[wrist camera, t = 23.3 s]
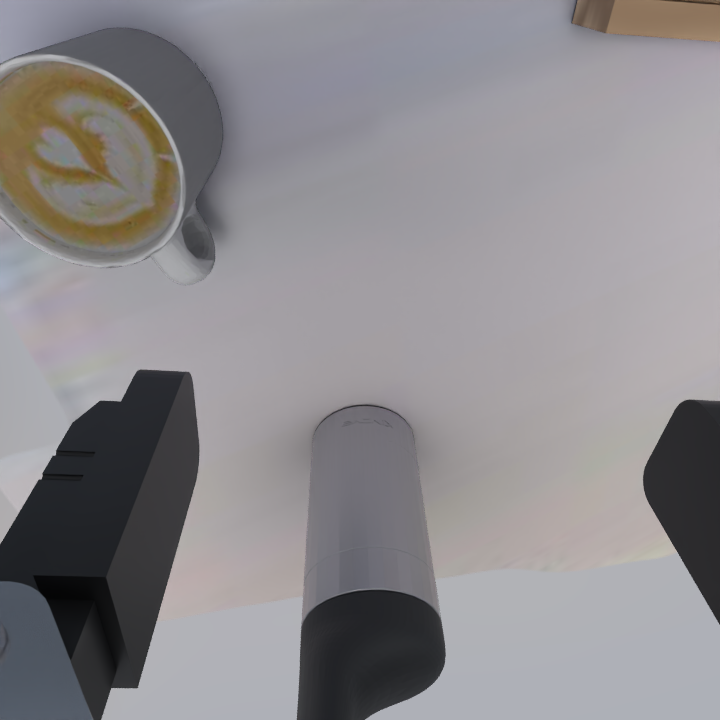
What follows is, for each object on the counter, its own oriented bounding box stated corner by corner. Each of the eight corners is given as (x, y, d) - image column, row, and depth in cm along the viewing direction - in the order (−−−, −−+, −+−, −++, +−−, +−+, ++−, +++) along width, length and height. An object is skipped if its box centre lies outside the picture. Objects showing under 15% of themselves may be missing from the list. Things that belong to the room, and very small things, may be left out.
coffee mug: (19, 56, 32) (-90, 90, 24) (180, 4, 31) (122, 21, 23) (133, 261, 40) (79, 340, 32) (265, 227, 38) (244, 299, 30)
